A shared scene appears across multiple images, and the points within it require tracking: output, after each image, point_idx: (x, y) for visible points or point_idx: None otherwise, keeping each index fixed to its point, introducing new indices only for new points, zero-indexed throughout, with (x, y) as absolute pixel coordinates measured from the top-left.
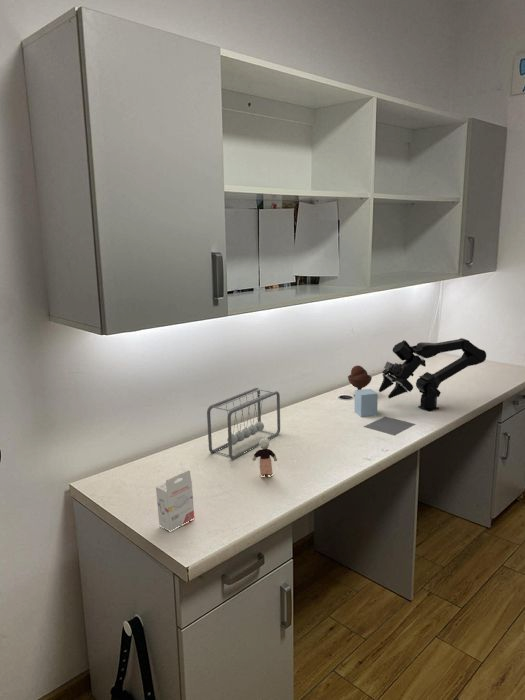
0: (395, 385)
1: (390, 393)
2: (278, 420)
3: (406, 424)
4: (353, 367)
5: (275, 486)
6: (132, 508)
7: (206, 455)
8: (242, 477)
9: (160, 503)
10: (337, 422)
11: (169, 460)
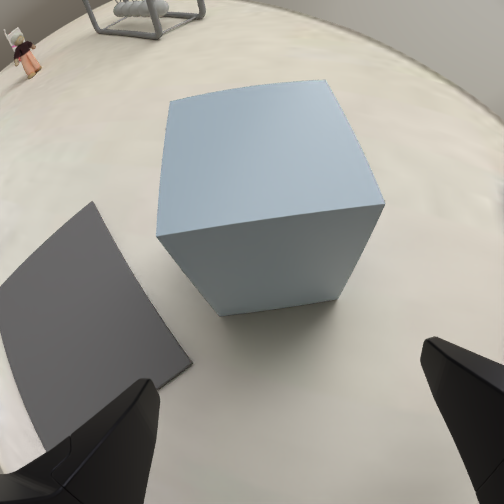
0: (41, 496)
1: (118, 407)
2: (150, 12)
3: (50, 413)
4: None
5: (11, 89)
6: (63, 28)
7: None
8: (49, 57)
9: None
10: None
11: None
